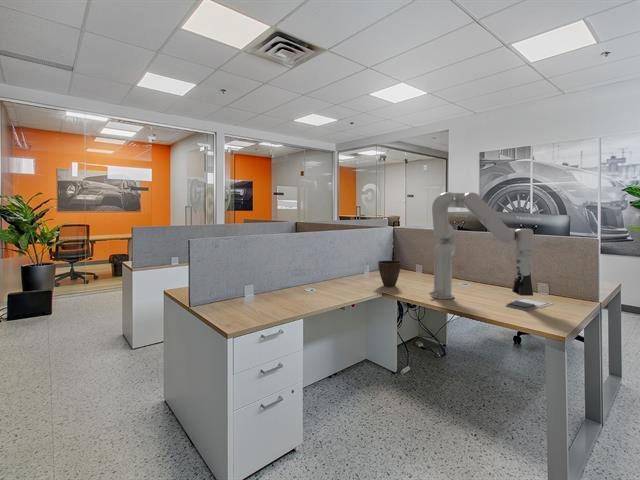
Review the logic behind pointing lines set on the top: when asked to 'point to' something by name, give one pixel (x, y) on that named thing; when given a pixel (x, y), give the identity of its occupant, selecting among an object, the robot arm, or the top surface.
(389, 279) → the plant pot
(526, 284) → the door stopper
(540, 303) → the print sheet
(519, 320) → the top surface
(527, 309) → the ink pad
